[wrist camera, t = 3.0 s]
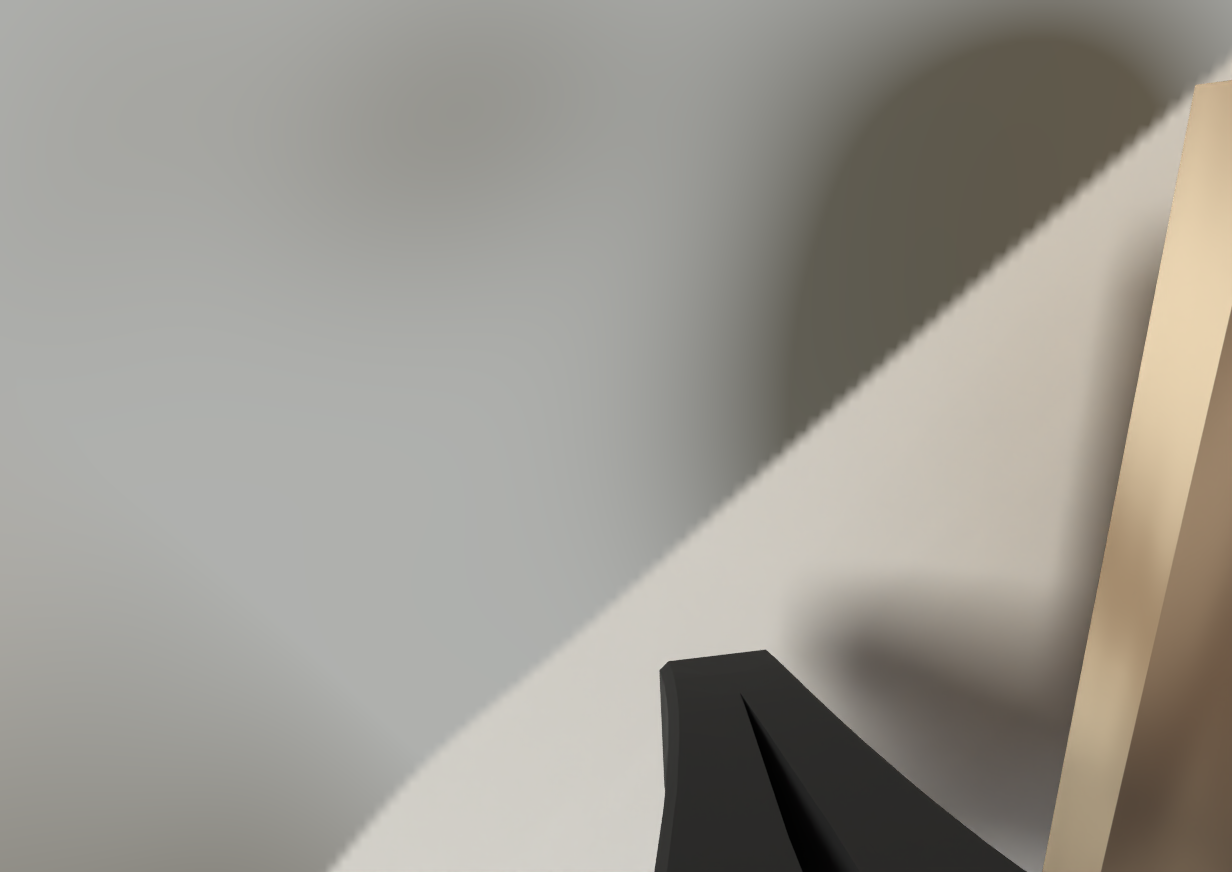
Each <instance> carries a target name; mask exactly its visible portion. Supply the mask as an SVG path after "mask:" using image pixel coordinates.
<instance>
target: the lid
mask: <svg viewBox="0 0 1232 872" xmlns="http://www.w3.org/2000/svg"><path fill="white" fill-rule="evenodd" d="M1042 872H1232V80H1230V81H1223V82H1215V83H1207V84H1200V85H1195V90H1194V95H1193V100H1192V105H1191V110H1190V115H1189V120H1188V126H1187V131H1186V136H1185V141H1184V146H1183V151H1182V156H1181V162H1180V167H1179V172H1178V177H1177V182H1176V187H1175V192H1174V198H1173V203H1172V208H1171V213H1170V218H1169V223H1168V228H1167V234H1166V239H1165V244H1164V249H1163V254H1162V259H1161V264H1160V270H1159V275H1158V280H1157V285H1156V290H1155V295H1154V300H1153V306H1152V311H1151V316H1150V321H1149V326H1148V331H1147V336H1146V342H1145V347H1144V352H1143V357H1142V362H1141V367H1140V372H1139V378H1138V383H1137V388H1136V393H1135V398H1134V403H1133V408H1132V414H1131V419H1130V424H1129V429H1128V434H1127V439H1126V444H1125V450H1124V455H1123V460H1122V465H1121V470H1120V475H1119V480H1118V485H1117V491H1116V496H1115V501H1114V506H1113V511H1112V516H1111V521H1110V527H1109V532H1108V537H1107V542H1106V547H1105V552H1104V557H1103V563H1102V568H1101V573H1100V578H1099V583H1098V588H1097V593H1096V599H1095V604H1094V609H1093V614H1092V619H1091V624H1090V629H1089V635H1088V640H1087V645H1086V650H1085V655H1084V660H1083V665H1082V671H1081V676H1080V681H1079V686H1078V691H1077V696H1076V701H1075V707H1074V712H1073V717H1072V722H1071V727H1070V732H1069V737H1068V743H1067V748H1066V753H1065V758H1064V763H1063V768H1062V773H1061V779H1060V784H1059V789H1058V794H1057V799H1056V804H1055V809H1054V815H1053V820H1052V825H1051V830H1050V835H1049V840H1048V845H1047V851H1046V856H1045V861H1044V866H1043V871H1042Z"/></svg>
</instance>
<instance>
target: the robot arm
mask: <svg viewBox="0 0 1232 872" xmlns="http://www.w3.org/2000/svg"><path fill="white" fill-rule="evenodd" d="M660 693H661V716H662V739H663V762H664V785H665V800H664V809H663V817H662V824H661V830H660V837H659V844H658V851H657V858H656V865H655V872H1026V871H1025V870H1023V869H1022V868H1020V867H1019V866H1017V865H1016V864H1015V863H1013V862H1012V861H1011V860H1009V859H1008V858H1006V857H1005V856H1004V855H1002V854H1001V853H1000V852H998V851H997V850H996V849H994V848H993V847H992V846H990V845H989V844H988V843H986V842H985V841H984V840H982V839H981V838H980V837H978V836H977V835H976V834H975V833H973V832H972V831H971V830H969V829H968V828H967V827H966V826H964V825H963V824H962V823H961V822H959V821H958V820H957V819H956V818H954V817H953V816H952V815H951V814H949V813H948V812H947V811H945V810H944V809H943V808H942V807H940V806H939V805H938V804H937V803H935V802H934V801H933V800H932V799H931V798H929V797H928V796H927V795H926V794H925V793H923V792H922V791H921V790H920V789H919V788H917V787H916V786H915V785H914V784H913V783H911V782H910V781H909V780H908V779H907V778H905V777H904V776H903V775H902V774H901V773H900V772H898V771H897V770H896V769H895V768H894V767H893V766H892V765H890V764H889V763H888V762H887V761H886V760H885V759H884V758H882V757H881V756H880V755H879V754H878V753H877V752H876V751H874V750H873V749H872V748H871V747H870V746H869V745H868V744H866V743H865V742H864V741H863V740H862V739H861V738H860V737H858V736H857V735H856V734H855V733H854V732H853V731H852V730H851V729H850V728H849V727H847V726H846V725H845V724H844V723H843V722H842V721H841V720H840V719H839V718H838V717H837V716H836V715H835V714H833V713H832V712H831V711H830V710H829V709H828V708H827V707H826V706H825V705H824V704H823V703H822V702H821V701H820V700H818V699H817V698H816V697H815V696H814V695H813V694H812V693H811V692H810V691H809V690H808V689H807V688H806V687H805V686H804V685H803V684H802V683H801V682H800V681H799V680H798V679H797V678H796V677H794V676H793V675H792V674H791V673H790V672H789V671H788V670H787V669H786V668H785V667H784V666H783V665H782V664H781V663H780V662H779V661H778V660H777V659H776V658H775V657H774V656H772V655H771V654H770V653H769V652H768V651H767V650H760V651H751V652H743V653H735V654H726V655H718V656H710V657H701V658H693V659H684V660H676V661H668V662H667V663H666V664H665V665H664V666H663V667H662V668H661V669H660Z"/></svg>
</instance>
